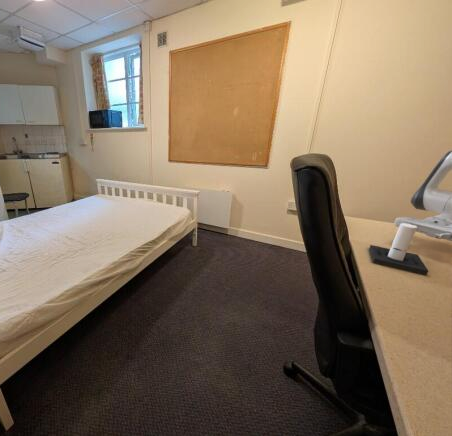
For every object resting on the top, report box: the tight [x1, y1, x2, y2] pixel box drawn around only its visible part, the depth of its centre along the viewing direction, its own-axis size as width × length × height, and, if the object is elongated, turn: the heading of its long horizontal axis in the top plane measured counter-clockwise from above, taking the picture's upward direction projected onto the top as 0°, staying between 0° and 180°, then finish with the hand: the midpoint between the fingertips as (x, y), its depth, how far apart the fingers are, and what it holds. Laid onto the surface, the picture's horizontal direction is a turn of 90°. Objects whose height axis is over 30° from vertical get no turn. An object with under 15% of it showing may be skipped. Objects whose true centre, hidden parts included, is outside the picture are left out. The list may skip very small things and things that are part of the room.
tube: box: [388, 223, 417, 261], centre depth 84 cm, size 4×4×15 cm
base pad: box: [368, 244, 429, 276], centre depth 86 cm, size 14×14×2 cm
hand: (420, 231), depth 86 cm, fingers open, 8 cm apart
